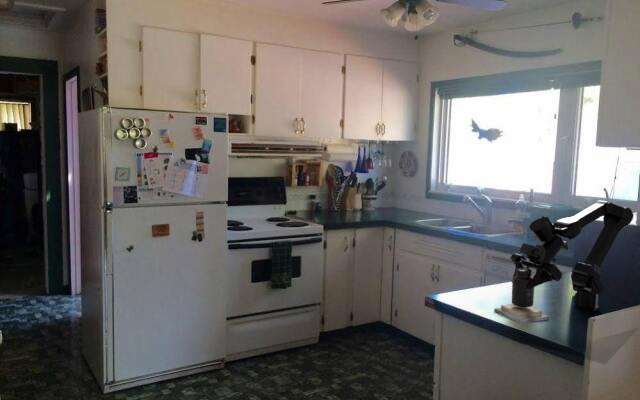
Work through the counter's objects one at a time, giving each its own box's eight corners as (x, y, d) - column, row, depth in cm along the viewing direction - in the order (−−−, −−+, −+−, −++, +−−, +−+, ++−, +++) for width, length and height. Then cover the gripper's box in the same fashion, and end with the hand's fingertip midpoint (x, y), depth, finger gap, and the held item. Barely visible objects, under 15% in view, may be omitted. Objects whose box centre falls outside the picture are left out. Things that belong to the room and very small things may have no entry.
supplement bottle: (530, 302, 175) (532, 267, 173) (535, 308, 168) (537, 272, 167) (509, 300, 176) (511, 266, 174) (513, 307, 169) (515, 271, 168)
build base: (522, 308, 180) (522, 301, 179) (548, 319, 169) (549, 311, 168) (494, 311, 176) (494, 304, 175) (519, 322, 164) (519, 315, 164)
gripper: (515, 230, 179) (488, 263, 177) (557, 239, 162) (527, 277, 159) (532, 251, 183) (505, 284, 180) (575, 262, 165) (545, 299, 163)
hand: (519, 285), depth 171 cm, fingers closed on supplement bottle, 7 cm apart
